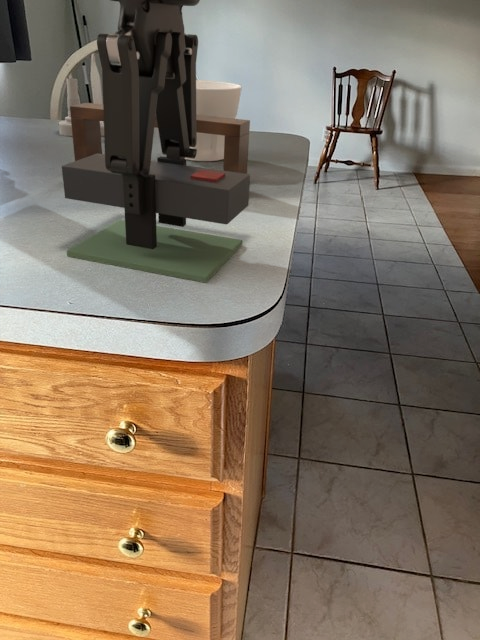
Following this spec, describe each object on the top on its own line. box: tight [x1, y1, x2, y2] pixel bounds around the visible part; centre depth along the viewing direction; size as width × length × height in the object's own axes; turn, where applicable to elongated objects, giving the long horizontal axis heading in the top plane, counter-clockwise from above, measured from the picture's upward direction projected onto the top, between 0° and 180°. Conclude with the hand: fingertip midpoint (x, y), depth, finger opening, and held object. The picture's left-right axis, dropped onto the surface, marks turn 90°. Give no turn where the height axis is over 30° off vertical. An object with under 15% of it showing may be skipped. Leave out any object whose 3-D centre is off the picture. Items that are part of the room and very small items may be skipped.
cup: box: [185, 79, 243, 163], centre depth 88 cm, size 12×12×11 cm
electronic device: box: [58, 77, 104, 137], centre depth 97 cm, size 5×10×15 cm
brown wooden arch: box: [70, 102, 251, 174], centre depth 73 cm, size 24×4×9 cm, turn 72°
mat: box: [66, 219, 243, 283], centre depth 53 cm, size 14×10×1 cm
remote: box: [61, 153, 251, 226], centre depth 50 cm, size 16×6×3 cm, turn 71°
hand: (157, 233), depth 52 cm, fingers closed on remote, 6 cm apart
